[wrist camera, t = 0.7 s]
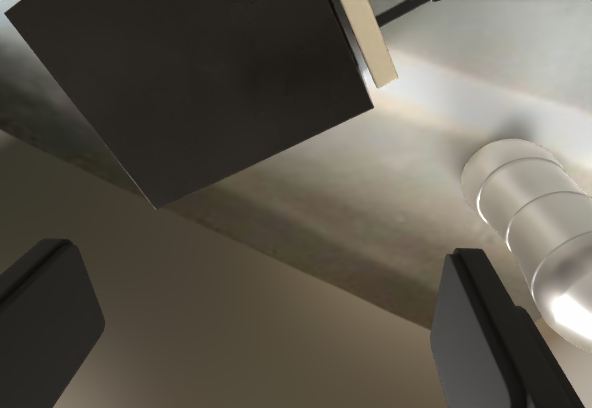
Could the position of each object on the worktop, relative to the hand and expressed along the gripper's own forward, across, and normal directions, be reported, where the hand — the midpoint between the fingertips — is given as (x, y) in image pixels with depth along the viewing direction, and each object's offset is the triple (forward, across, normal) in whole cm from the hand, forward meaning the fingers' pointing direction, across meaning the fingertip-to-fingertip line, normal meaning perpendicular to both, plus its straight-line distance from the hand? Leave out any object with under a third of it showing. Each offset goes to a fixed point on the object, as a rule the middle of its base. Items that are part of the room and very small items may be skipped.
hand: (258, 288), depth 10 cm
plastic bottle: (+22, -15, +6) cm, 28 cm away
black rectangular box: (+22, +5, -4) cm, 23 cm away
